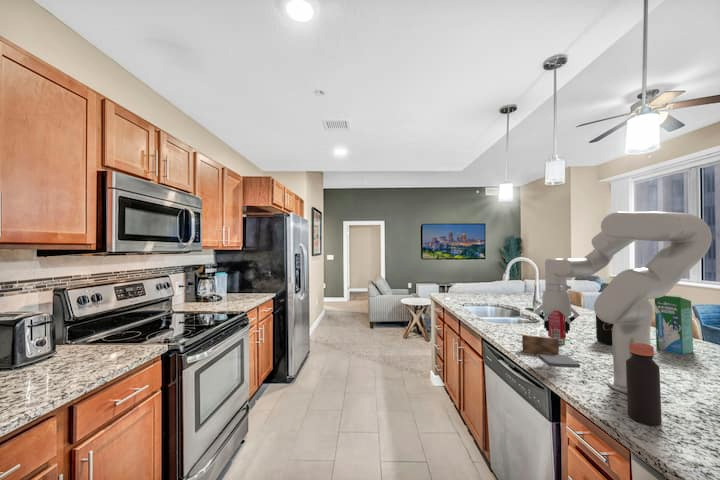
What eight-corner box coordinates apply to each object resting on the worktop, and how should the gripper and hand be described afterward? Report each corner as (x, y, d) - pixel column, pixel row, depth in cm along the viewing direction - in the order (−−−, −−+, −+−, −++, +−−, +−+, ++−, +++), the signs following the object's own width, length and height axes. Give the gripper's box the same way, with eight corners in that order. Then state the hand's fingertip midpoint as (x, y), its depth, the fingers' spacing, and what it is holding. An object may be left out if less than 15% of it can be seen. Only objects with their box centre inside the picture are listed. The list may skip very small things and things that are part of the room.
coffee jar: (602, 345, 149) (601, 307, 149) (592, 339, 159) (591, 303, 159) (629, 347, 145) (627, 308, 146) (617, 340, 156) (616, 304, 156)
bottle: (639, 425, 81) (636, 348, 82) (621, 412, 88) (619, 341, 89) (668, 427, 80) (665, 349, 81) (648, 413, 87) (646, 342, 88)
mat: (580, 367, 122) (579, 364, 122) (549, 365, 123) (549, 363, 123) (565, 357, 133) (565, 355, 133) (538, 356, 134) (538, 353, 134)
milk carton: (693, 352, 138) (691, 295, 138) (682, 354, 134) (680, 296, 135) (667, 346, 146) (665, 293, 147) (656, 348, 143) (654, 294, 143)
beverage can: (560, 336, 131) (560, 307, 132) (569, 340, 125) (568, 310, 125) (545, 335, 132) (544, 307, 132) (552, 340, 126) (552, 310, 126)
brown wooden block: (558, 353, 138) (557, 337, 138) (559, 356, 133) (558, 340, 133) (522, 348, 144) (522, 333, 145) (522, 352, 140) (522, 336, 140)
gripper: (579, 288, 128) (580, 331, 128) (532, 285, 136) (532, 326, 136) (582, 290, 122) (583, 336, 121) (532, 287, 130) (533, 331, 129)
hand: (556, 330), depth 129 cm, fingers closed on beverage can, 6 cm apart
